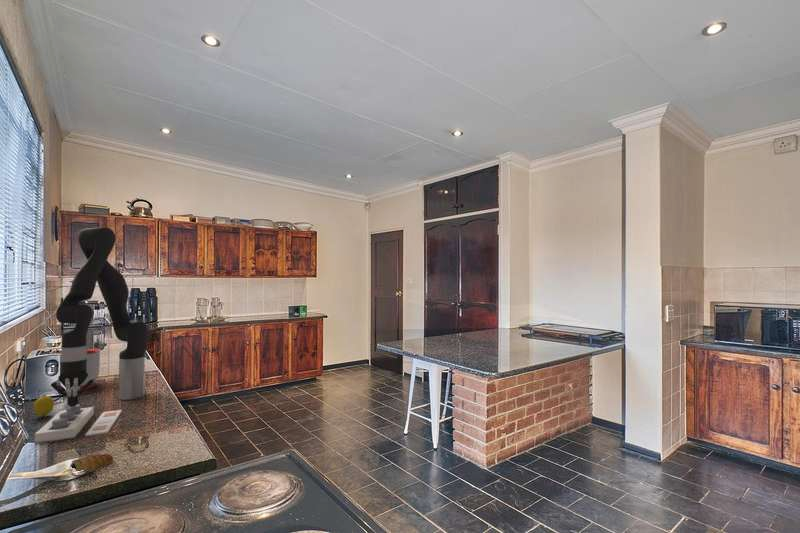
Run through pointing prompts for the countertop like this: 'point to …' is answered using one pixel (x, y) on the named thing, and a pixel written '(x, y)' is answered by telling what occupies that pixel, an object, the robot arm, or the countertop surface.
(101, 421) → the pattern card
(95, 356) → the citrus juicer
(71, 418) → the button middle
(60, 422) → the button near
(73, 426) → the button panel
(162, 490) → the countertop surface
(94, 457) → the pastry
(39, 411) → the lemon
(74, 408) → the button far
